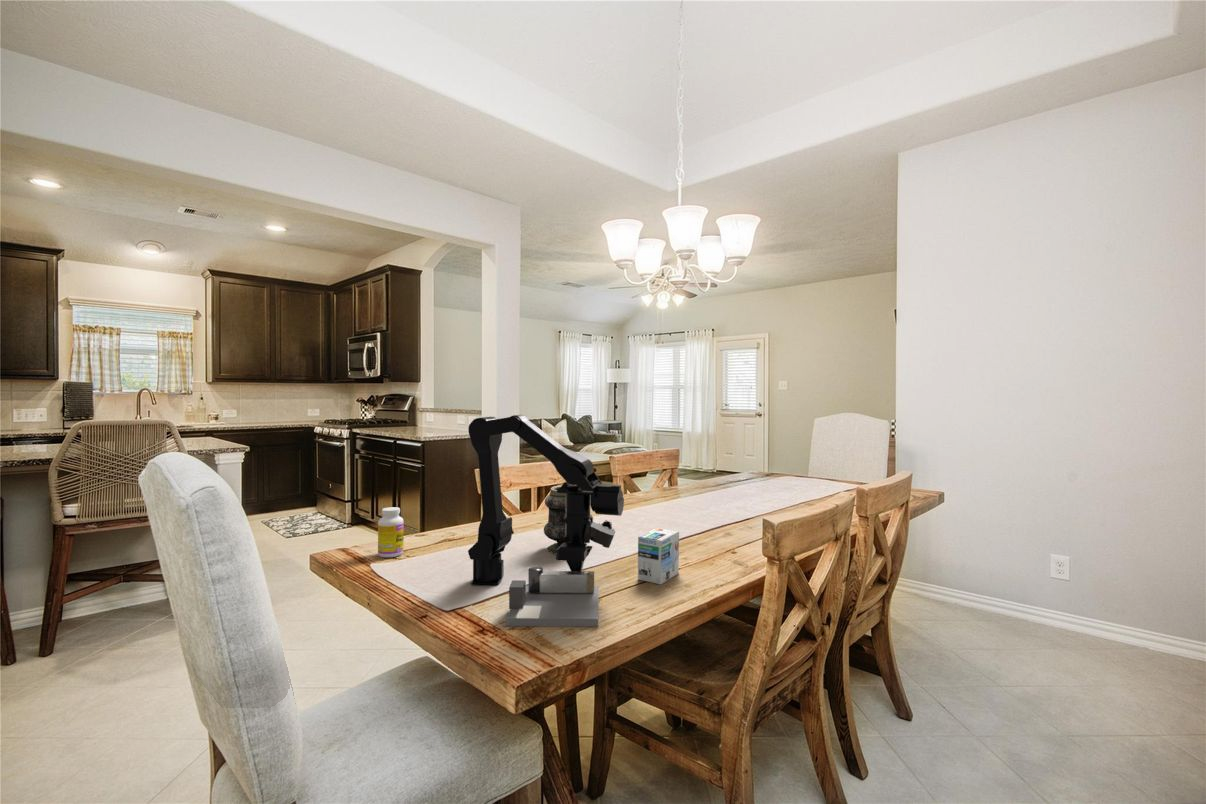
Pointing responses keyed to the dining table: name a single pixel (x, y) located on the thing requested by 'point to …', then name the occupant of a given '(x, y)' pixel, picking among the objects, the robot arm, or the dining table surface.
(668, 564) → the light bulb box
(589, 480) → the robot arm
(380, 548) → the supplement bottle
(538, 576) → the bar
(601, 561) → the dining table surface
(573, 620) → the plate
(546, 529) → the apothecary jar
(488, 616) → the dining table surface
